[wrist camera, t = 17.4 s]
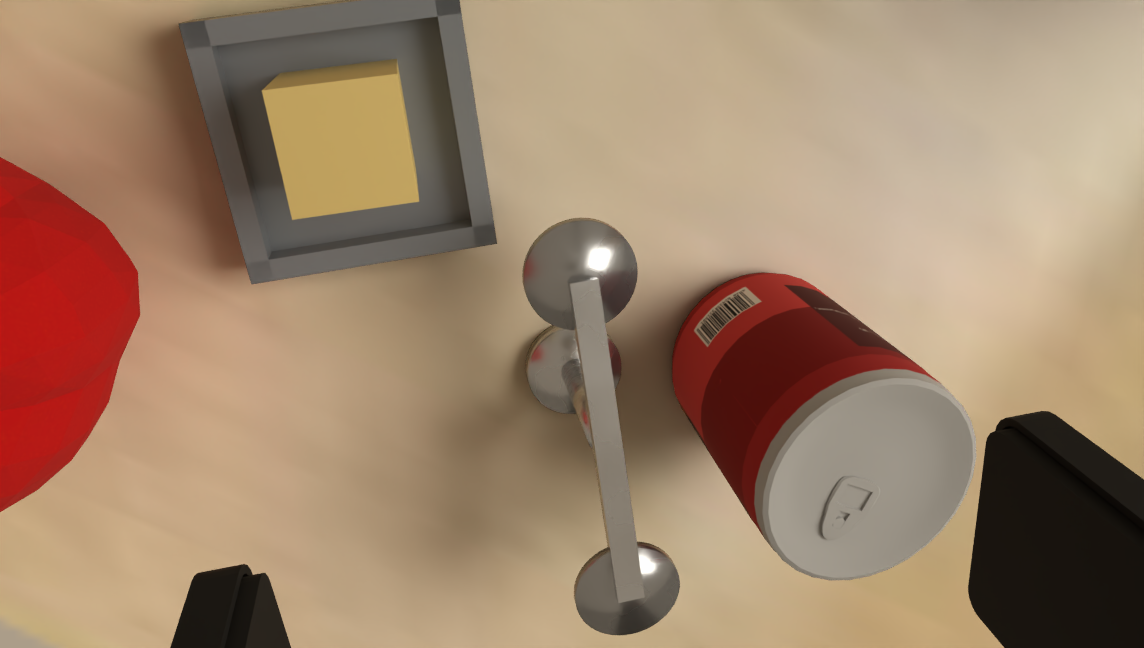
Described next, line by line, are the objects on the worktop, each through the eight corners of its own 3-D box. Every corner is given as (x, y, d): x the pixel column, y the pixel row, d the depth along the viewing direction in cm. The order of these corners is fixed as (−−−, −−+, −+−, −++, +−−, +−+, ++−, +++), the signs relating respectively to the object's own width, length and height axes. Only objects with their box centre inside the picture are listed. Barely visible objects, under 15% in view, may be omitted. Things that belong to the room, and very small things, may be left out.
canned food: (650, 424, 39) (737, 582, 29) (687, 256, 36) (798, 367, 26) (803, 434, 41) (935, 585, 31) (850, 274, 38) (1011, 385, 28)
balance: (498, 192, 34) (529, 259, 26) (598, 176, 34) (657, 237, 27) (548, 523, 40) (584, 655, 33) (632, 506, 41) (687, 631, 33)
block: (279, 73, 30) (261, 90, 26) (396, 58, 30) (396, 73, 26) (305, 186, 31) (292, 219, 27) (416, 171, 32) (419, 201, 28)
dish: (191, 20, 30) (178, 23, 28) (453, -14, 31) (457, -12, 29) (259, 266, 33) (251, 284, 31) (491, 228, 34) (497, 243, 33)
